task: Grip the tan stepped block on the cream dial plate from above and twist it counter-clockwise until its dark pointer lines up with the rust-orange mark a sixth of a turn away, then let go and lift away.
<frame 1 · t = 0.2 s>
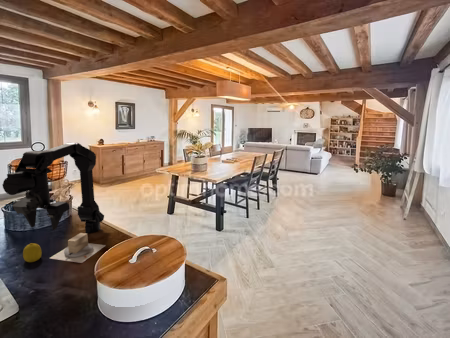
hand: (43, 228, 94), 14 cm above the worktop, tool pointing down, fingers open, 9 cm apart
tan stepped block: (78, 243, 102), point 5 cm above the worktop, hinge at 0.0°
lemon: (33, 263, 96), on the worktop
dial plate: (79, 254, 103), on the worktop
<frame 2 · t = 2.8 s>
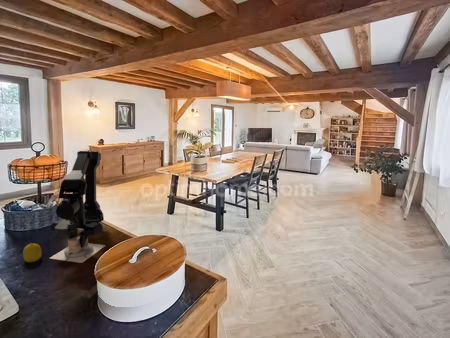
hand: (78, 246, 102), 4 cm above the worktop, tool pointing down, fingers closed on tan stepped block, 3 cm apart
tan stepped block: (78, 243, 102), point 5 cm above the worktop, hinge at 0.0°, touching gripper
everything else where it was.
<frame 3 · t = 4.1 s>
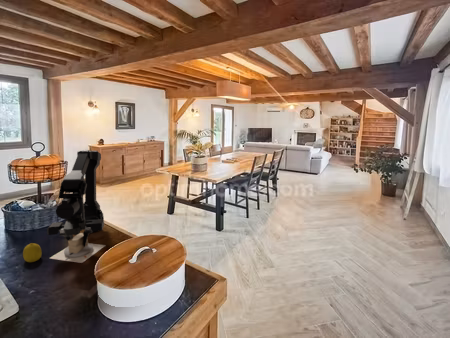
hand: (78, 246, 102), 4 cm above the worktop, tool pointing down, fingers closed on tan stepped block, 4 cm apart
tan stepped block: (78, 243, 102), point 5 cm above the worktop, hinge at 3.8°, touching gripper
everything else where it was.
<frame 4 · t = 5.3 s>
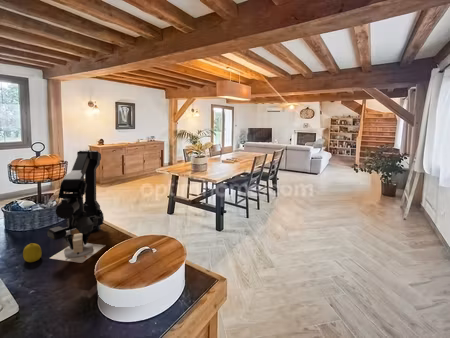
hand: (78, 246, 102), 4 cm above the worktop, tool pointing down, fingers closed on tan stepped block, 5 cm apart
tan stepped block: (78, 243, 102), point 5 cm above the worktop, hinge at 36.6°, touching gripper
everything else where it was.
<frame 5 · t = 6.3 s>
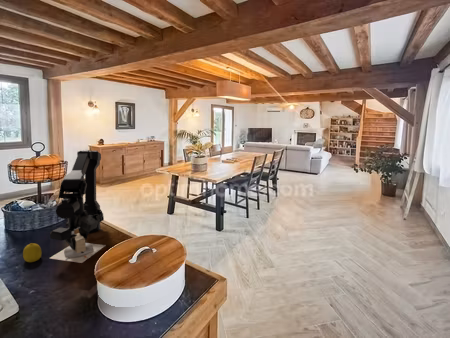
hand: (78, 246, 102), 4 cm above the worktop, tool pointing down, fingers closed on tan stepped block, 4 cm apart
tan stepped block: (78, 243, 102), point 5 cm above the worktop, hinge at 56.4°, touching gripper
everything else where it was.
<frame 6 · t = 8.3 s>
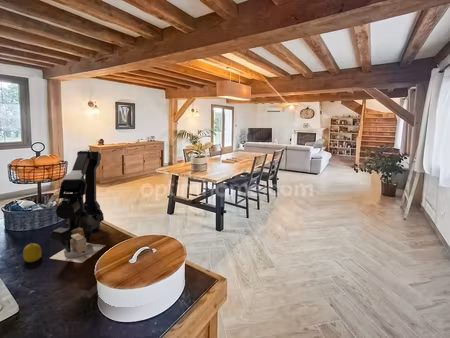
hand: (78, 246, 102), 4 cm above the worktop, tool pointing down, fingers open, 9 cm apart
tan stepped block: (78, 243, 102), point 5 cm above the worktop, hinge at 62.3°
everything else where it was.
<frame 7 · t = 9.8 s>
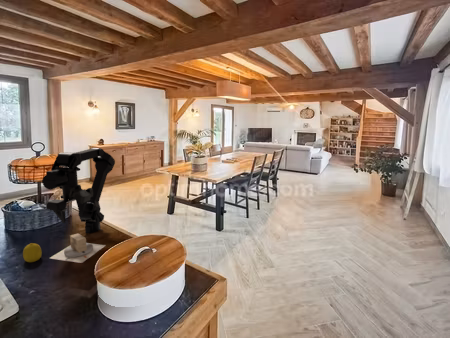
hand: (73, 218, 109), 12 cm above the worktop, tool pointing down, fingers open, 9 cm apart
nothing on the worktop moved.
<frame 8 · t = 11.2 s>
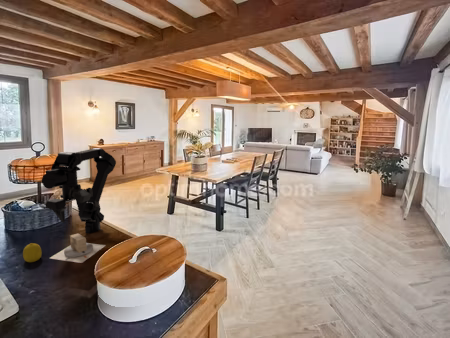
hand: (72, 218, 109), 12 cm above the worktop, tool pointing down, fingers open, 9 cm apart
nothing on the worktop moved.
at the end: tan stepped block at +62° (first picture: +0°); lemon moved 0.2 cm from its start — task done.
